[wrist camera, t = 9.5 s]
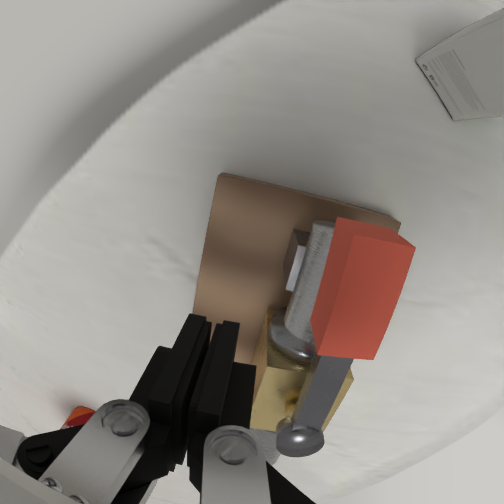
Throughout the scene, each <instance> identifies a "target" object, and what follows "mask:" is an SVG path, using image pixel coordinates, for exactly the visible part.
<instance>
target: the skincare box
mask: <svg viewBox="0 0 504 504" xmlns="http://www.w3.org/2000/svg"><path fill="white" fill-rule="evenodd" d="M416 62H417V63H418V65H419V66H420V68H421V69H422V70H423V72H424V73H425V75H426V76H427V78H428V79H429V81H430V82H431V84H432V86H433V87H434V89H435V90H436V92H437V93H438V95H439V96H440V98H441V100H442V101H443V103H444V105H445V106H446V108H447V110H448V111H449V113H450V115H451V116H452V118H453V120H454V121H459V120H468V119H478V118H490V117H504V8H503V9H501V10H499V11H497V12H495V13H492V14H491V15H489V16H487V17H485V18H483V19H481V20H479V21H477V22H475V23H473V24H471V25H469V26H468V27H466V28H464V29H462V30H460V31H459V32H457V33H455V34H454V35H452V36H450V37H449V38H447V39H445V40H444V41H442V42H440V43H439V44H437V45H436V46H434V47H433V48H431V49H430V50H428V51H427V52H425V53H424V54H422V55H421V56H420V57H418V58H417V59H416Z"/></svg>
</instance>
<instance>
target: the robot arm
mask: <svg viewBox="0 0 504 504" xmlns="http://www.w3.org/2000/svg"><path fill="white" fill-rule="evenodd" d="M206 320H207V319H206V316H201V315H196V314H191V313H190V314H189V315H188V317H187V319H186V321H185V323H184V325H183V327H182V329H181V331H180V333H179V335H178V337H177V339H176V341H175V344H174V346H173V348H172V349H171V348H167V347H163V346H159V347H158V348H157V349H156V351H155V353H154V355H153V356H152V358H151V360H150V362H149V364H148V365H147V367H146V369H145V371H144V373H143V375H142V376H141V378H140V380H139V382H138V384H137V386H136V388H135V389H134V391H133V393H132V395H131V397H130V399H129V400H124V399H118V400H112V401H109V402H107V403H105V404H103V405H102V406H101V407H100V408H99V409H98V410H97V411H96V412H95V414H94V415H93V416H92V417H91V418H90V419H89V421H88V422H87V423H85V424H82V425H78V426H74V427H70V428H65V429H61V430H57V431H52V432H48V433H43V434H38V435H34V436H31V437H25V436H24V434H23V433H21V432H18V431H15V430H12V429H9V428H7V427H4V426H1V425H0V504H145V503H146V502H147V500H148V498H149V496H150V494H151V493H152V491H153V489H154V487H155V486H156V484H157V481H158V478H161V477H164V476H166V475H168V472H169V471H172V472H174V469H175V466H176V464H180V465H182V464H183V461H184V458H185V454H186V451H187V466H188V467H190V476H189V480H190V481H191V483H192V484H193V485H194V486H195V488H196V489H197V490H198V491H199V492H200V504H316V503H314V502H313V501H312V500H311V499H309V498H308V497H307V496H306V495H305V494H303V493H302V492H301V491H300V490H299V489H297V488H296V487H295V486H294V485H293V484H291V483H290V482H289V481H288V480H287V479H286V478H285V477H283V476H282V475H281V474H280V473H279V472H278V471H277V470H276V469H275V468H273V467H272V466H271V465H270V464H269V463H268V462H267V461H266V459H265V451H264V446H263V443H262V441H261V439H260V438H259V437H258V435H256V434H255V433H254V432H252V431H251V430H249V429H250V421H251V412H252V404H253V395H254V386H255V377H256V368H257V366H256V365H251V364H245V363H239V362H234V359H235V353H236V346H237V340H238V334H239V328H240V323H238V322H232V321H227V320H224V321H223V324H219V323H216V326H215V329H214V332H213V335H212V338H211V341H210V337H211V328H212V322H209V321H206Z"/></svg>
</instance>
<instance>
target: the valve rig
mask: <svg viewBox="0 0 504 504" xmlns="http://www.w3.org/2000/svg"><path fill="white" fill-rule="evenodd" d="M337 217H341V218H346V219H350V220H355V221H360V222H364V223H369V224H373V225H378V226H382V227H387V228H390V229H392V230H393V231H394V232H396V233H397V234H398V231H399V228H400V225H401V223H400V222H399V221H397V220H396V219H394V218H392V217H390V216H387V215H384V214H380V213H377V212H374V211H370V210H367V209H364V208H360V207H357V206H353V205H350V204H346V203H343V202H339V201H336V200H332V199H328V198H325V197H321V196H317V195H313V194H310V193H306V192H302V191H298V190H294V189H290V188H286V187H282V186H278V185H274V184H270V183H265V182H261V181H257V180H252V179H248V178H244V177H239V176H235V175H230V174H225V173H221V174H219V175H218V178H217V183H216V188H215V193H214V198H213V203H212V208H211V213H210V218H209V223H208V228H207V233H206V239H205V244H204V249H203V255H202V260H201V266H200V272H199V277H198V283H197V289H196V295H195V301H194V307H193V314H196V315H201V316H206V319H207V320H206V321H209V322H212V328H211V337H210V341H211V338H212V335H213V332H214V329H215V326H216V323H219V324H223V321H224V320H227V321H232V322H238V323H240V328H239V334H238V340H237V346H236V353H235V359H234V362H239V363H245V364H251V365H256V366H257V368H256V377H255V386H254V395H253V404H252V412H251V421H250V429H249V430H251V431H252V432H254V433H255V434H256V435H258V437H259V438H260V439H261V441H262V443H263V446H264V451H265V459H266V461H267V462H268V463H269V464H270V465H271V466H272V465H273V464H275V463H276V461H277V460H278V458H279V456H280V455H281V453H280V452H279V451H278V450H277V449H276V426H277V424H278V422H279V421H280V420H282V419H283V418H285V417H287V416H290V415H292V414H293V411H294V409H295V406H296V404H297V401H298V398H299V396H300V393H301V391H302V388H303V385H304V383H305V380H306V377H307V374H308V372H309V369H310V366H311V363H312V360H313V358H314V355H315V352H316V346H315V341H314V337H313V332H312V328H311V323H310V318H311V315H312V311H313V308H314V304H315V301H316V297H317V294H318V290H319V287H320V283H321V279H322V275H323V272H324V268H325V264H326V260H327V256H328V252H329V248H330V244H331V240H332V236H333V232H334V228H335V224H336V220H337ZM353 380H354V378H353V375H352V372H351V369H349V371H348V373H347V375H346V378H345V380H344V382H343V384H342V386H341V389H340V391H339V393H338V395H337V397H336V399H335V401H334V403H333V405H332V408H331V410H330V412H329V414H328V416H327V418H326V420H325V422H324V424H323V425H322V429H323V431H324V430H325V428H326V427H327V425H328V423H329V422H330V420H331V419H332V417H333V415H334V414H335V412H336V410H337V409H338V407H339V405H340V403H341V402H342V400H343V398H344V396H345V395H346V393H347V391H348V389H349V388H350V386H351V384H352V382H353Z"/></svg>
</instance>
